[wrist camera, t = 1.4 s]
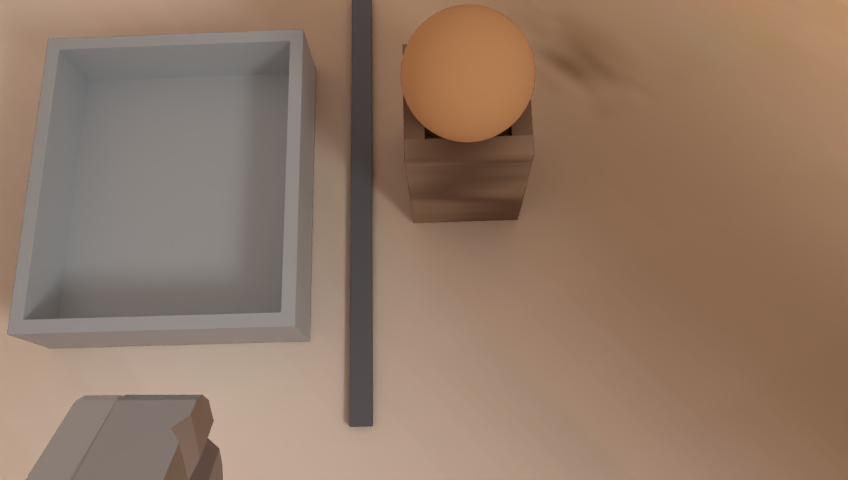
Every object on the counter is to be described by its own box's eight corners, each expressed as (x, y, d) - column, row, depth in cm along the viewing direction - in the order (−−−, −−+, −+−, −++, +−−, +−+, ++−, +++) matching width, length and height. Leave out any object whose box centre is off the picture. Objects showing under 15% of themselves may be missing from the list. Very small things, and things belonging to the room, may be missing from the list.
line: (371, 0, 41) (371, -3, 41) (372, 426, 35) (372, 425, 34) (352, 1, 41) (352, -3, 41) (350, 426, 35) (349, 426, 34)
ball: (524, 48, 32) (537, -28, 27) (532, 160, 30) (547, 101, 26) (403, 53, 32) (395, -22, 27) (405, 165, 31) (396, 106, 26)
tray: (315, 68, 40) (303, 29, 37) (309, 341, 36) (294, 325, 32) (82, 76, 40) (48, 38, 37) (49, 348, 36) (6, 334, 33)
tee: (511, 124, 39) (526, 40, 31) (517, 219, 37) (534, 154, 30) (411, 128, 39) (402, 44, 31) (413, 222, 37) (404, 158, 30)
